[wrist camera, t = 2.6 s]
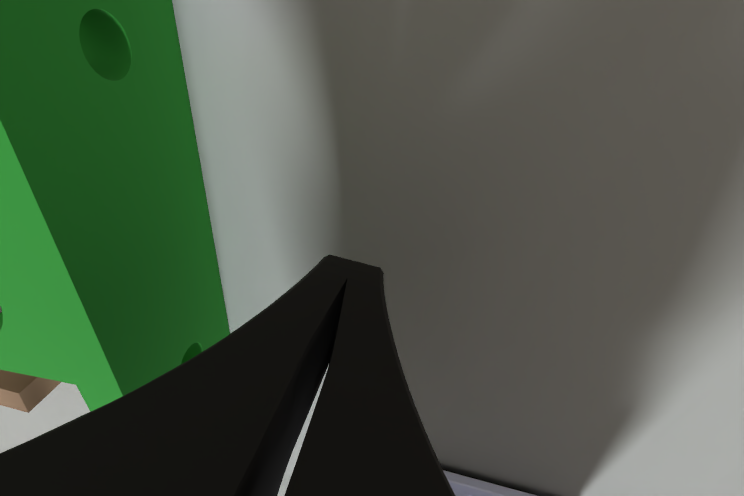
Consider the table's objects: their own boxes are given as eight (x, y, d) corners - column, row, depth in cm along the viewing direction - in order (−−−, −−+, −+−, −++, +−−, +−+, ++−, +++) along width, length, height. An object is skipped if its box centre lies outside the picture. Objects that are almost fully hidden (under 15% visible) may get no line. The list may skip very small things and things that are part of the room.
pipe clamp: (12, -52, 8) (-397, -136, 4) (172, -39, 8) (-104, -116, 4) (140, 327, 14) (22, 443, 10) (234, 343, 13) (151, 470, 10)
